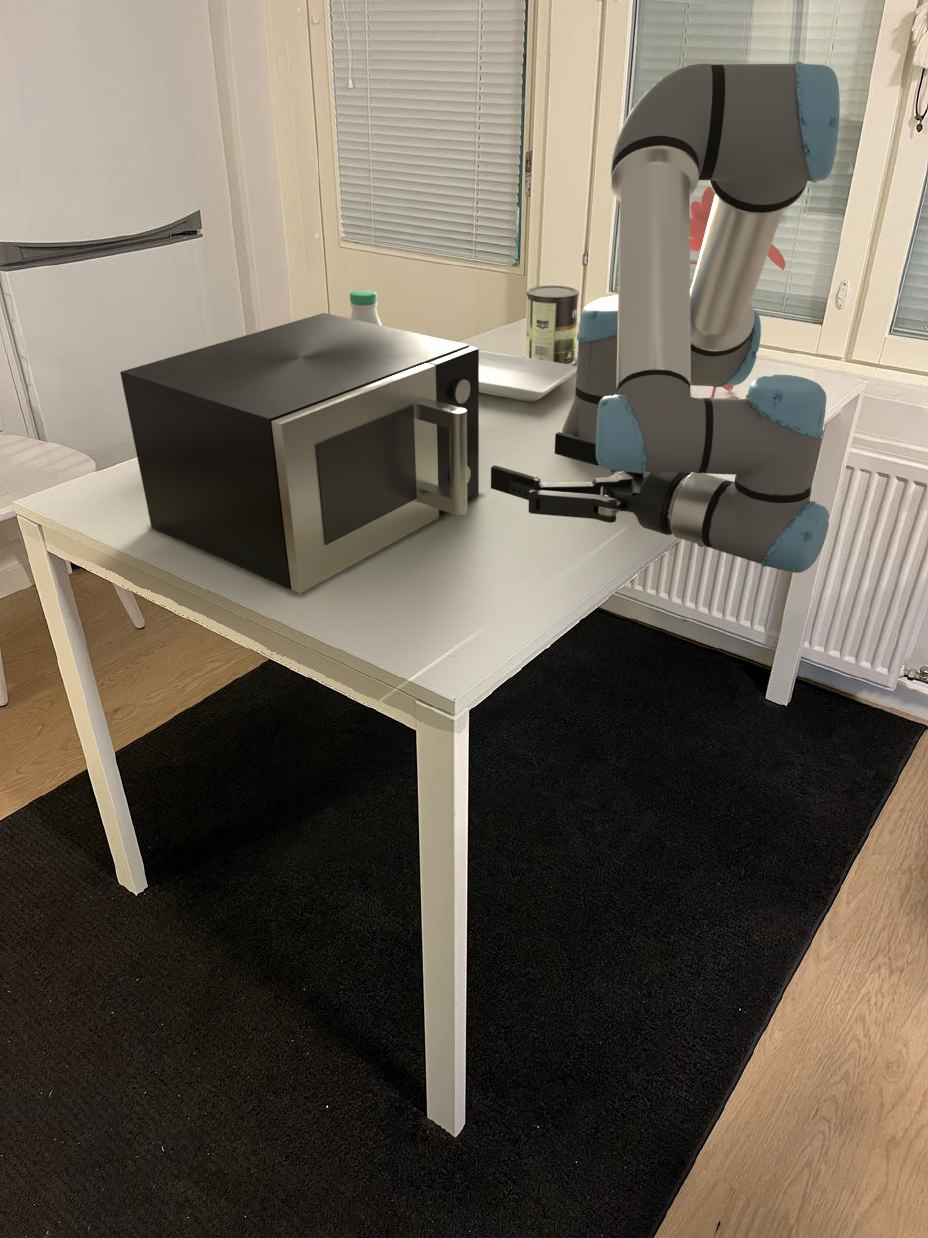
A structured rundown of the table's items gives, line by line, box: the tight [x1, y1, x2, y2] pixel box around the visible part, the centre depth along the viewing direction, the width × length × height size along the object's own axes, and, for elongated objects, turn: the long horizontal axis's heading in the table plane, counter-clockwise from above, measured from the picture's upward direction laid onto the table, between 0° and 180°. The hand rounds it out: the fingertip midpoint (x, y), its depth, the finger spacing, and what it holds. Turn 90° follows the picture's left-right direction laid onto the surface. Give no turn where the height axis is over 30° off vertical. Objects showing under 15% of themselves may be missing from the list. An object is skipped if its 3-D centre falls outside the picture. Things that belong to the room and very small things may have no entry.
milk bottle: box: [349, 289, 383, 326], centre depth 168 cm, size 8×8×20 cm
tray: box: [479, 349, 577, 403], centre depth 183 cm, size 17×31×4 cm, turn 60°
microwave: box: [119, 312, 480, 591], centre depth 130 cm, size 30×36×22 cm
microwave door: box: [271, 363, 468, 595], centre depth 118 cm, size 9×27×22 cm, turn 142°
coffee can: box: [525, 285, 580, 366], centre depth 191 cm, size 10×10×14 cm
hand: (525, 459), depth 117 cm, fingers open, 13 cm apart
